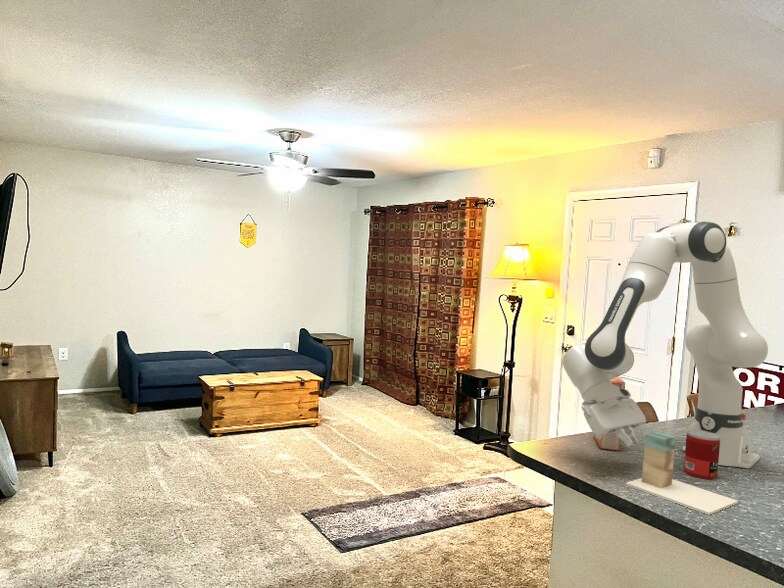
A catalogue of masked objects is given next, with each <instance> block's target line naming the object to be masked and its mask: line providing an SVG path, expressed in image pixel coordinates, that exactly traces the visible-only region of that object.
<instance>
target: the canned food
mask: <svg viewBox="0 0 784 588" xmlns="http://www.w3.org/2000/svg"><path fill="white" fill-rule="evenodd" d="M685 446H686V447H685V451H684V463H683V471H684V473H686V474H687V475H688V476H691V477H694V478H697V479H702V480H703V479H704V480H714V479H717V477H718V470H719V465H718V461H719V450H720V436H719V435H717V434H714V433H711V432H707V431H701V430H687V431H686V437H685Z"/></svg>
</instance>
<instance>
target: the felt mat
mask: <svg viewBox="0 0 784 588" xmlns="http://www.w3.org/2000/svg"><path fill="white" fill-rule="evenodd" d="M625 486H628V487H631V488H633V489H636V490H638V491H641V492H644V493H647V494H649V495H652V496H654V497H657V498H660V499H663V500H665V499H666V501H669V502H672V503H674V504H676V503H677V505H679V504H680V506H682V505H683V506H682V507H685V508H687V507H688V509H691V510H693V511H695V512H698V511H699V513H701V512H702V513H701V514H704V513H705V514H704V515H707V514H708V515H707V516H711V515H713V513H714V514H715V513H716V514H717V513H718V512H721V511H723V510H725V508H726V509H728V508H731V507H733V506H736V505H738V504H739V500H736V499H733V498H731V497H727V496H724V495H721V494H718V493H715V492H713V491H710V490H706V489H703V488H701V487H698V486H695V485H691V484H689V483H686V482H683V481H679V480H677V479H673V478H672V485H670V486H667V487H664V488H659V487H656V486H653V485H650V484H647V483H644V482H642V477H640V478H637V479H634V480H631V481H627V482H625ZM735 504H736V505H735ZM732 505H733V506H732ZM730 506H731V507H730ZM722 509H723V510H722ZM720 510H721V511H720ZM710 514H711V515H710Z"/></svg>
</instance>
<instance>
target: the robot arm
mask: <svg viewBox="0 0 784 588" xmlns="http://www.w3.org/2000/svg"><path fill="white" fill-rule="evenodd" d="M675 263H689V264H690V265H691V267H692V277H693V284H694V285H693V286H694V292H695V293H694V294H695V300H696V305H697V309H698V311H699V312H700V313H701V314H702V315H703V316H704V317H705V318H706V320H707V321H708V324H700V325H695V326H693V327H692V328H690V329H688V330H689V331H687V333H686V337H685V339H684V341H685V346H686V349H687V350H688V352H689V354H690V356H692V359H693V361H694V363H695V364H694V365H695V368H696V372H697V376H698V377H697V378H698V397H697V399H698V400H697V407H695V411H694V419H695V421H694V422H693V423H690V425H689V430H701V431H707V432H711V433H714V434H717V435H719V436H720V450H719V461H718V466H723V467H724V466H726V467H738V468H745V469H751V468H752V467H753V466H754V465H755V464H756V463H757V462H758V461H759V460H761V459H760V458H761V457H760V455H759V454H757V453H755V452H752V442H753V441H752V438H751V436H750V435H749V434H748V433H747V431H746V430H745V429H744V427H743V426H744V421H746V419H747V414H746V413H742V412H741V411H742V403H743V390H744V389H743V386H742V384H741V383H740V381H739V380H738V379H737V378H736V375H735V373H734V370H733V367H734V368H738V369H739V368H746V369H747V368H756V367H759V366H761V365H762V364H763V363H764V362H765V360H766V359H767V356H768V353H769V346H768V343H767V340H766V339H765V337H763V335H761V334H760V333H759V332H758V331H757V330H756V329H755V327H754V326H753V324H752V323H751V321H750V319H749V318H748V316H747V314H746V312H745V309H744V306H743V304H742V300H741V294H740V289H739V280H738V274H737V273H738V272H737V268H736V265H735V260H734V258H733V253H732V252H731V249H730V248H729V246H728V245H727V237H726V233H725V231H724V230H723V228H722V226H721V225H719V224H718V223H714V222H712V221H699V222H684V223H680V224H675V225H671V226H669V225H668V226H664V227H661V228H659V229H658V230H656V231H655V232H649V233H646V234H645V235H644V236H643V237H642V238H641V239H640V241H639V242H638V243H637V245H636V248H635V249H634V251H633V253H632V254H631V257H630V259H629V262H628V263H627V266H626V268H625V271H624V274H623V276H622V279H621V282H620V284H619V286H618V289H617V291H616V293H615V295H614V296H613V299H612V301H611V303H610V305H609V308H608V309H607V311H606V314H605V316H604V317H603V320H602V321H601V323H600V325H598V327H597V328H596V329H595V330H594V331H593V332H592V333H591V334H590V335H589V336H588V337H587V340H586V342H585V343H584V344H582V343H577V344H575V345H572V346H571V347H570V348H568V350H566V352H565V353H564V355H563V357H562V361H561V362H562V366H563V368H564V371H565V372H566V374H567V376H568V378H569V379H570V381H571V383H572V384H573V386H574V387H576V389H577V390H578V391H579V393H580V397H581V398H582V400H583V402H582V404H581V409H582V411H583V416H584V418H585V420H586V423H587V424H588V426H589V428H590V430H591V432H592V433H593V434H595V435H597V436H600V435H605V434H610V433H615V434H616V435H617V437H619V438H620V441H623V442H624V444H625V445H626V447H627V448H629V447H633V446H636V445H637V444H638V443H639V441H638V439H637V438H636V437H637V436H636V434H635V431H634V429H638V428H640V427H642V426H643V425H644V424H645V423H647V419H646V416H645V414H644V413H643V411H642V410H641V408H640V407H639V405H638V403H637V402H636V401H635V399H632V398H631V397H632V395H631V392H630V391H629V390H628V389H627V388H625V389H622V388H619V387H617V386H615V385H613V384H612V383H611V381H610V379H613V378H615V377H619V376H622V375H625V374H626V373H628V372H629V371H630V370H631V369H632V368H633V366H634V362H635V356H634V353H633V350H632V349H631V348H630V346H629V345H628V344H627V343H626V333H627V331H628V329H629V326H630V324H631V323H632V320H633V318H634V316H635V314H636V311H637V310H638V309H639V307H640V306H641V305H643V304H644V303H649V302H652V301H654V300H657V299H658V298H659V296H660V295H661V294H662V292H663V291H664V288H665V286H666V285H667V282H668V280H669V277H670V275H671V273H672V269H673V265H674V264H675ZM685 447H686V445H682V451H684V452H685Z"/></svg>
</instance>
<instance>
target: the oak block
mask: <svg viewBox="0 0 784 588" xmlns="http://www.w3.org/2000/svg"><path fill="white" fill-rule="evenodd" d="M675 447H676V436H673V435H670V434H666V433H662V432H659V431H652V432H648V433H645V439H644V450H643V462H642V474H641V478H642V482H644V483H647V484H650V485H653V486H656V487H659V488H664V487H667V486H670V485H672V479H673V475H674V474H673V473H674V463H675V452H676V451H675V449H676V448H675Z"/></svg>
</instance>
